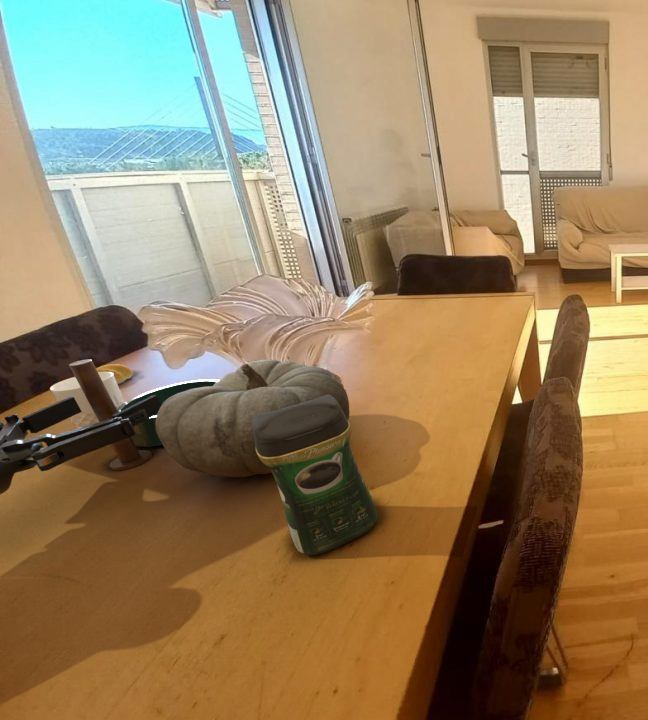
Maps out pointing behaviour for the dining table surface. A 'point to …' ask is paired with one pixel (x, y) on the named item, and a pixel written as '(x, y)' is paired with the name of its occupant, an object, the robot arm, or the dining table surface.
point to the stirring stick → (106, 413)
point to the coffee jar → (315, 473)
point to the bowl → (147, 428)
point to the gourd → (237, 414)
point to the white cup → (74, 390)
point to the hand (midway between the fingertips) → (116, 403)
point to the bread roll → (117, 371)
